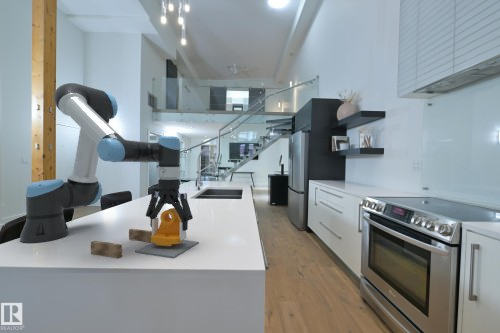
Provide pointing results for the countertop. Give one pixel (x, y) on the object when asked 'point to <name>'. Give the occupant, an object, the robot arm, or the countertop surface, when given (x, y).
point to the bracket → (168, 229)
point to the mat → (167, 249)
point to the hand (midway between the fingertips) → (168, 237)
